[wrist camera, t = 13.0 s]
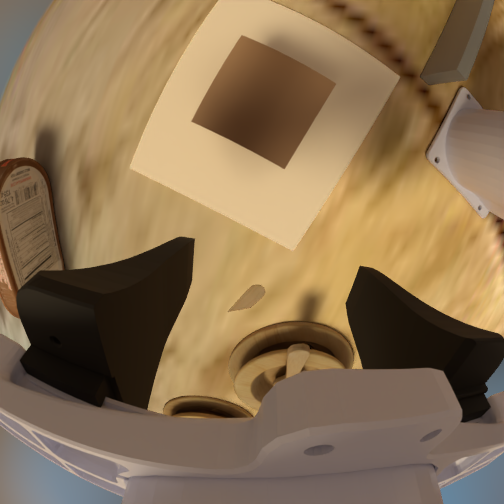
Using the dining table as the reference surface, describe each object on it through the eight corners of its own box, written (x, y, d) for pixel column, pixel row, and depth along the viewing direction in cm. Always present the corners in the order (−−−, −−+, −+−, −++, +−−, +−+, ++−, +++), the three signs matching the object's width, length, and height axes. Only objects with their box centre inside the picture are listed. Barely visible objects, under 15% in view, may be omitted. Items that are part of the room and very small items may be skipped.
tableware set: (258, 273, 23) (255, 318, 18) (388, 361, 28) (402, 400, 22) (134, 402, 34) (123, 433, 29) (239, 447, 39) (237, 476, 33)
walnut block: (314, 96, 16) (336, 83, 11) (278, 156, 18) (284, 169, 13) (249, 62, 15) (241, 35, 10) (213, 123, 17) (191, 121, 12)
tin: (32, 151, 18) (-33, 173, 11) (53, 147, 18) (-17, 168, 11) (57, 288, 25) (14, 334, 17) (77, 292, 25) (34, 343, 17)
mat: (398, 77, 15) (400, 77, 15) (292, 249, 21) (293, 251, 21) (229, -12, 13) (229, -14, 12) (131, 167, 19) (129, 168, 19)
